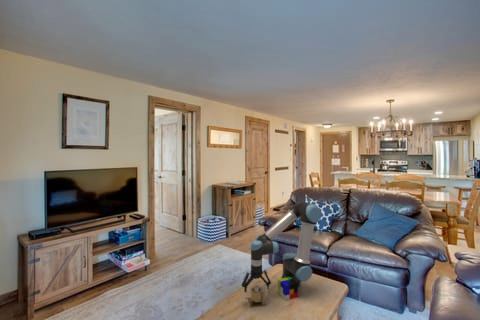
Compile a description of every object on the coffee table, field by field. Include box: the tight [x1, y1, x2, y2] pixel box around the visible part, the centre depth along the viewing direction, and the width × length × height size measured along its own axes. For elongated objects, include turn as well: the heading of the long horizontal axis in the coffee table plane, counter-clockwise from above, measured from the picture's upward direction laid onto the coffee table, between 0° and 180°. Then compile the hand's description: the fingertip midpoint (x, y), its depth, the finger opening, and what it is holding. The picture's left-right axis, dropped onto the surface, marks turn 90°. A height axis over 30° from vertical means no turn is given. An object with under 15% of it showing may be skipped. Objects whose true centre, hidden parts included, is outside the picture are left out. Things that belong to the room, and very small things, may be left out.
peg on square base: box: [247, 284, 267, 308], centre depth 168 cm, size 10×10×12 cm
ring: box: [249, 286, 264, 302], centre depth 168 cm, size 8×8×6 cm
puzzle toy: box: [277, 277, 299, 301], centre depth 177 cm, size 10×10×10 cm
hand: (256, 295), depth 168 cm, fingers open, 13 cm apart
